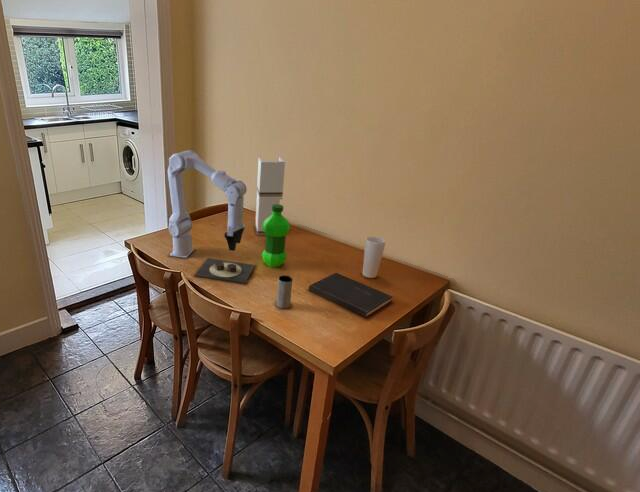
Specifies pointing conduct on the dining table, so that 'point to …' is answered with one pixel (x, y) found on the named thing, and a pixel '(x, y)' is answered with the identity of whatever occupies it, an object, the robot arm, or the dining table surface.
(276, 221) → the plastic bottle
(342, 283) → the hardcover book
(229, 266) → the eye right
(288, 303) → the grey metal cylinder
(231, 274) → the board
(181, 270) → the dining table surface
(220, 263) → the eye left
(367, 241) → the drinking glass
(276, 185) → the white rectangular tower
